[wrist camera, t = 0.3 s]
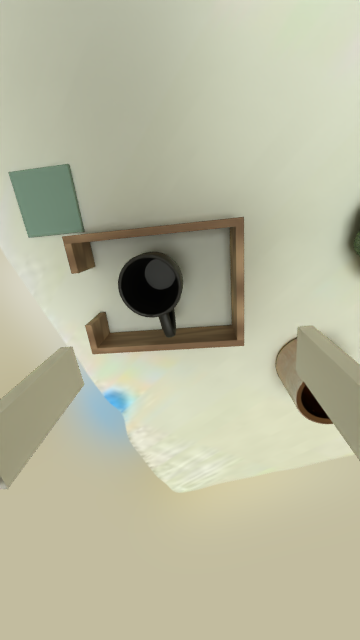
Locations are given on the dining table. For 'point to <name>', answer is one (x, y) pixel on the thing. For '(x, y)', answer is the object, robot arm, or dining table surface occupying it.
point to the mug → (152, 288)
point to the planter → (298, 386)
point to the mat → (47, 200)
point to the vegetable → (357, 243)
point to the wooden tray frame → (156, 339)
